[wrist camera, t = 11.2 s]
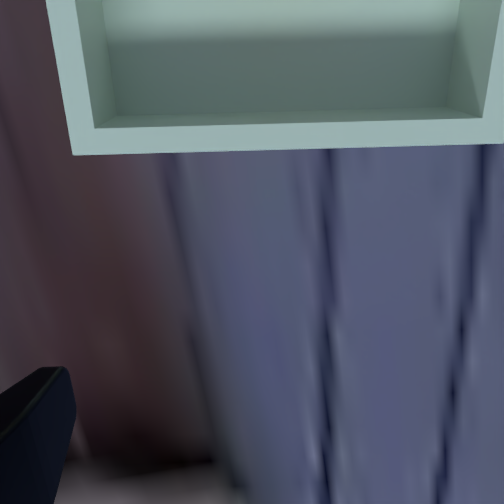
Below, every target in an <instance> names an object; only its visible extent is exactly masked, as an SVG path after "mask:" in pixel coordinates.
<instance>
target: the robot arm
mask: <svg viewBox="0 0 504 504" xmlns="http://www.w3.org/2000/svg"><path fill="white" fill-rule="evenodd" d="M75 419H76V402H75V397H74V393H73V388H72V384H71V379H70V375H69V372H68V370H67V369H66V368H65V367H63V366H58V367H41V368H39V369H37V370H36V371H34V372H33V373H31V374H30V375H28V376H27V377H25V378H24V379H22V380H21V381H19V382H18V383H16V384H15V385H13V386H12V387H10V388H9V389H7V390H6V391H4V392H3V393H1V394H0V504H54V500H55V497H56V493H57V489H58V486H59V482H60V478H61V474H62V470H63V466H64V462H65V458H66V454H67V451H68V447H69V443H70V439H71V435H72V431H73V427H74V423H75Z"/></svg>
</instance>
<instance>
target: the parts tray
mask: <svg viewBox="0 0 504 504" xmlns="http://www.w3.org/2000/svg"><path fill="white" fill-rule="evenodd" d="M46 4H47V10H48V16H49V22H50V27H51V33H52V39H53V44H54V50H55V56H56V62H57V67H58V73H59V79H60V85H61V90H62V96H63V102H64V107H65V113H66V119H67V125H68V130H69V136H70V142H71V148H72V153H73V155H101V154H137V153H173V152H210V151H246V150H283V149H319V148H355V147H392V146H428V145H465V144H501V143H503V142H504V0H46Z"/></svg>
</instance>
